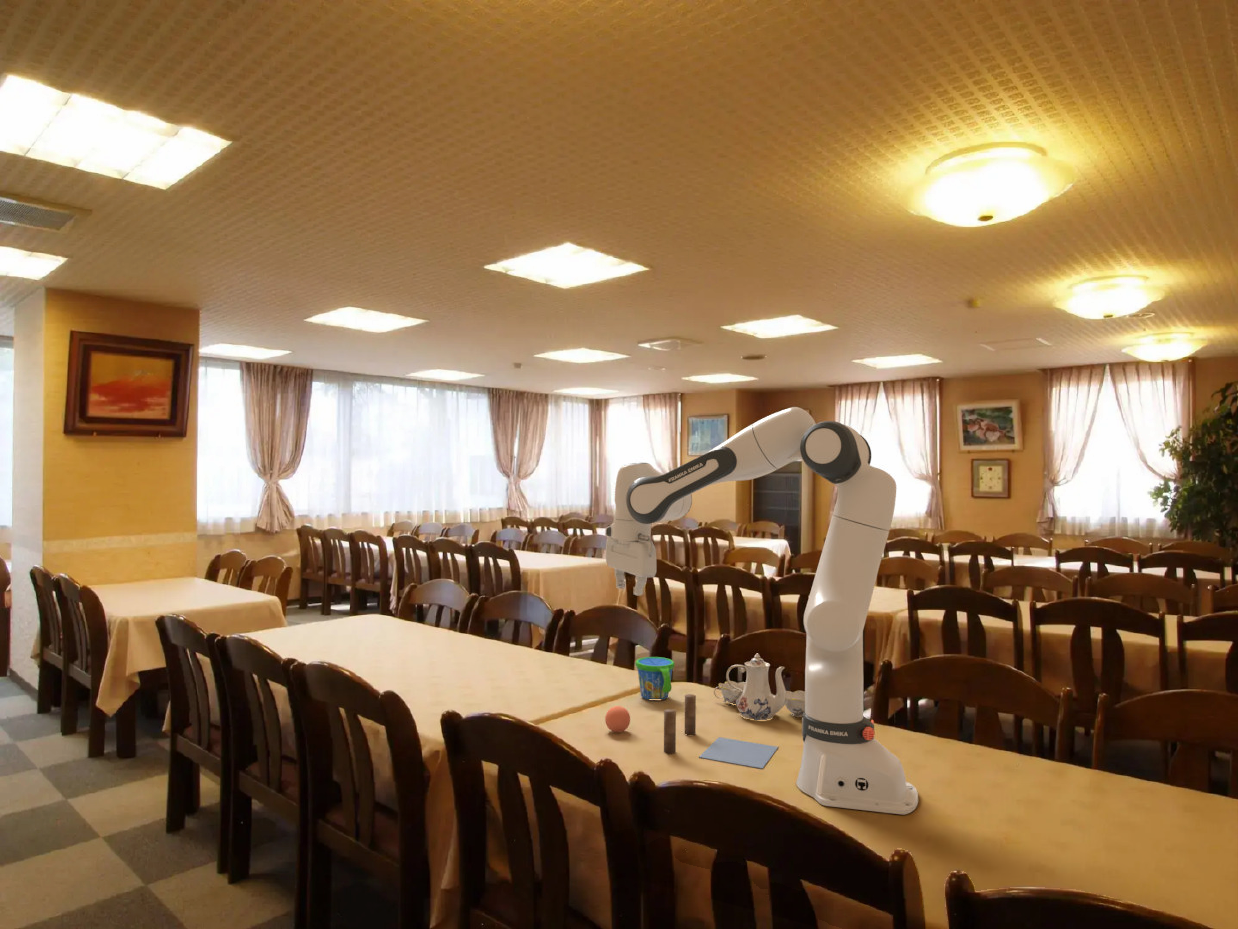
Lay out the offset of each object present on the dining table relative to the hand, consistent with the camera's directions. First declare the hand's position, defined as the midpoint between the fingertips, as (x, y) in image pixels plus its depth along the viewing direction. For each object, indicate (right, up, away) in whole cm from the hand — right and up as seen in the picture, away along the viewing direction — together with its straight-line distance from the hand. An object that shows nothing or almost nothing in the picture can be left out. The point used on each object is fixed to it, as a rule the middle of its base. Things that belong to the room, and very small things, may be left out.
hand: (629, 591), depth 171 cm
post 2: (+15, -35, +4) cm, 38 cm away
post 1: (+9, -34, -8) cm, 36 cm away
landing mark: (+24, -34, -8) cm, 43 cm away
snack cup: (+8, -36, +33) cm, 49 cm away
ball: (-3, -32, +5) cm, 32 cm away
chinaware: (+35, -36, +21) cm, 54 cm away
